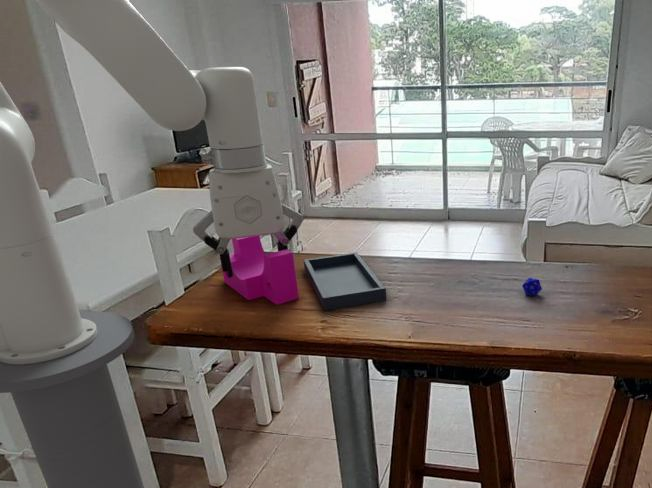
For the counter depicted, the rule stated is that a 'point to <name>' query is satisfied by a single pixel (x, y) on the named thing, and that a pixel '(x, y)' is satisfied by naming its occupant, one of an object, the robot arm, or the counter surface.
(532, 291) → the die
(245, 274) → the toy block
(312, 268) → the rectangular tray
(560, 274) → the counter surface
